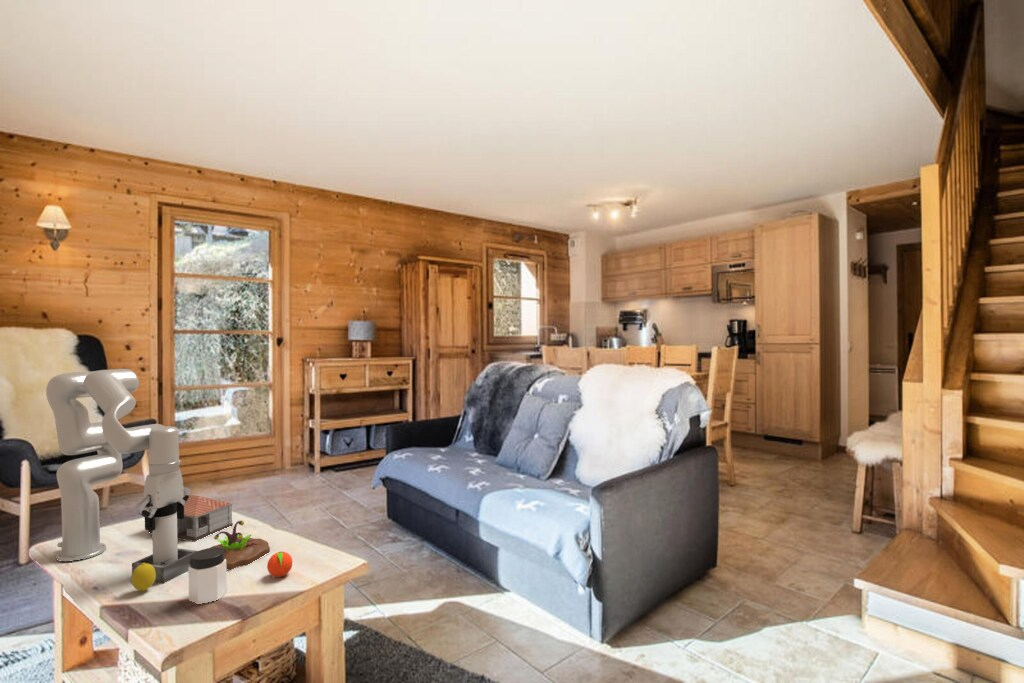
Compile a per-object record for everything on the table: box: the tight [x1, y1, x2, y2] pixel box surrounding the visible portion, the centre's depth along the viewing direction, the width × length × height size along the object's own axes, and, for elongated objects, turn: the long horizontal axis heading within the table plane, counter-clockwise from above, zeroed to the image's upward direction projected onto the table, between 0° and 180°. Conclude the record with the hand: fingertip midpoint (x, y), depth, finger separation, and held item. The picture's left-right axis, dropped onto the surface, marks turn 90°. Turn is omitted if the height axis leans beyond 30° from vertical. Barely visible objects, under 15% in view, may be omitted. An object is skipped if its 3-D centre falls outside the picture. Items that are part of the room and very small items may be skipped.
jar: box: [187, 547, 228, 605], centre depth 141 cm, size 9×8×12 cm
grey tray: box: [131, 547, 198, 584], centre depth 157 cm, size 12×12×4 cm
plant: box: [209, 520, 271, 570], centre depth 168 cm, size 20×20×11 cm
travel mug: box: [151, 503, 179, 566], centre depth 157 cm, size 6×7×20 cm
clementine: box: [266, 551, 294, 578], centre depth 153 cm, size 8×7×7 cm
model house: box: [147, 494, 234, 542], centre depth 191 cm, size 24×16×15 cm, turn 70°
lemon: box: [131, 563, 156, 592], centre depth 145 cm, size 6×6×8 cm
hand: (165, 524), depth 156 cm, fingers open, 9 cm apart
